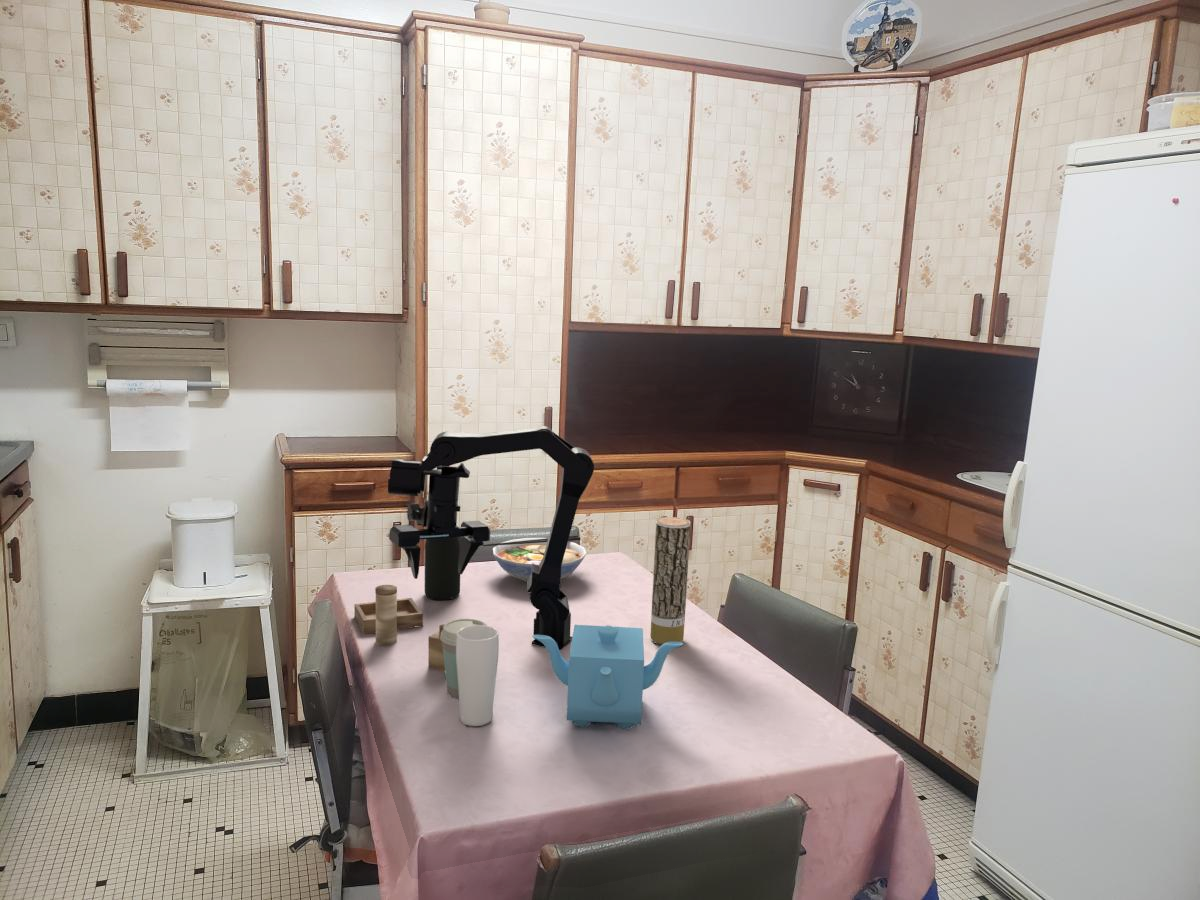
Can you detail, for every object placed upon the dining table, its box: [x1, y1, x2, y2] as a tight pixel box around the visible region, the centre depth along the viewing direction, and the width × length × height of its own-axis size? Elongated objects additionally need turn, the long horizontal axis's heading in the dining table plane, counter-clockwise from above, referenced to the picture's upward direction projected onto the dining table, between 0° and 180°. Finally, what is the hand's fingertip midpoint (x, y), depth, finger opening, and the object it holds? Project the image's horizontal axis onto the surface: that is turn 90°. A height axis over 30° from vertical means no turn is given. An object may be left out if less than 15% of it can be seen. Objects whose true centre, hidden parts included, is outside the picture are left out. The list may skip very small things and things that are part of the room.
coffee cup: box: [440, 618, 488, 700], centre depth 152 cm, size 8×9×12 cm
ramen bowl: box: [482, 534, 588, 583], centre depth 214 cm, size 25×23×8 cm
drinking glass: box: [456, 625, 500, 727], centre depth 142 cm, size 7×7×15 cm
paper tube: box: [649, 516, 691, 646], centre depth 178 cm, size 7×7×25 cm
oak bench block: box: [427, 623, 446, 672], centre depth 161 cm, size 3×10×8 cm, turn 68°
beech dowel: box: [374, 584, 398, 647], centre depth 173 cm, size 4×4×11 cm
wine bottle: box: [423, 465, 461, 601], centre depth 199 cm, size 8×8×30 cm
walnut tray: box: [353, 597, 424, 635], centre depth 184 cm, size 12×10×3 cm
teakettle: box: [531, 624, 685, 729], centre depth 146 cm, size 19×19×15 cm
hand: (438, 576), depth 172 cm, fingers open, 9 cm apart
